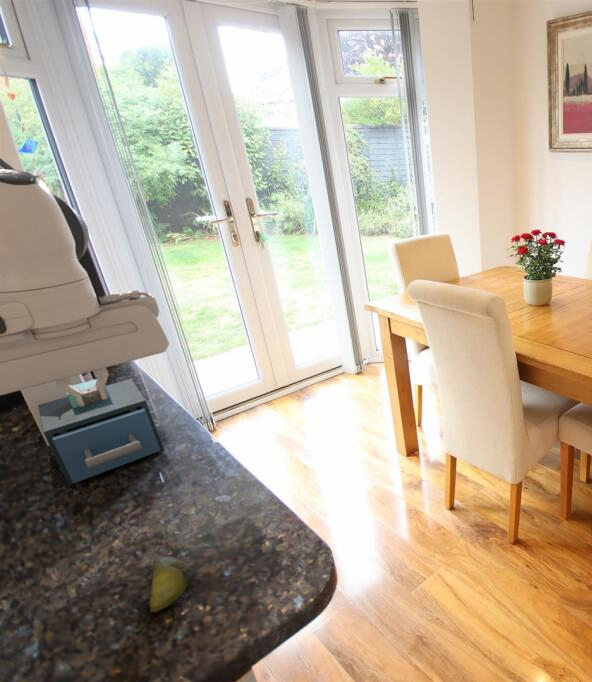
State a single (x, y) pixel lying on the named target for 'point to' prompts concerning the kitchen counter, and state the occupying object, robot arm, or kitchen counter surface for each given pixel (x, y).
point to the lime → (167, 582)
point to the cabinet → (91, 414)
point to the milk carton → (45, 397)
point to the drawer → (106, 443)
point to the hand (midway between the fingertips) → (93, 401)
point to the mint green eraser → (82, 387)
